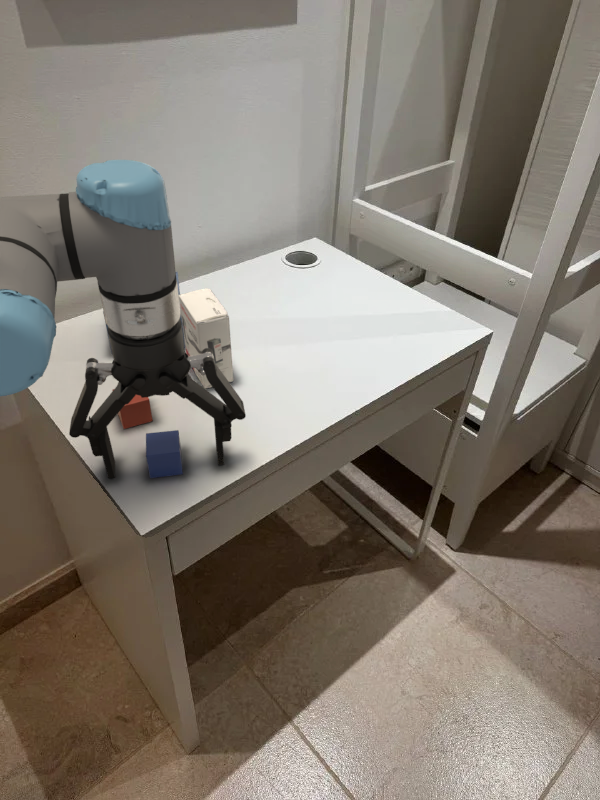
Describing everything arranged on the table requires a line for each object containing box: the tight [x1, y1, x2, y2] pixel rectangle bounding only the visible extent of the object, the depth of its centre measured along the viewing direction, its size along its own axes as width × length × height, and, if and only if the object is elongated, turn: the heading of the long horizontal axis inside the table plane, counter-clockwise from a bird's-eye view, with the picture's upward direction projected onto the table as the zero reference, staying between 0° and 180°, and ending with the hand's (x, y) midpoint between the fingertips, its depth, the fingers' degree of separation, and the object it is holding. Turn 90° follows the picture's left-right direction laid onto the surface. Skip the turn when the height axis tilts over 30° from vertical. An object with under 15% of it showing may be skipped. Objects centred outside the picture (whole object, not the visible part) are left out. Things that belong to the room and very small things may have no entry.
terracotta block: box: [111, 388, 153, 430], centre depth 79 cm, size 4×4×4 cm
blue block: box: [145, 429, 183, 479], centre depth 72 cm, size 4×4×4 cm
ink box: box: [179, 287, 234, 389], centre depth 85 cm, size 9×5×12 cm, turn 27°
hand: (166, 463), depth 73 cm, fingers open, 13 cm apart
